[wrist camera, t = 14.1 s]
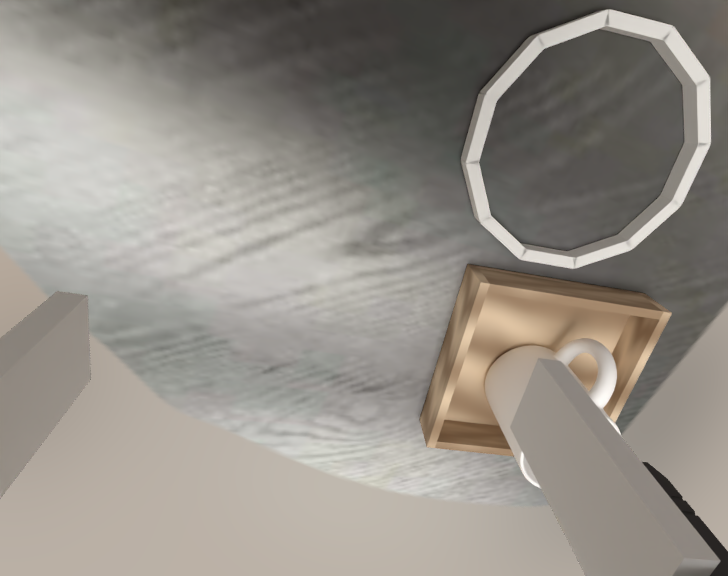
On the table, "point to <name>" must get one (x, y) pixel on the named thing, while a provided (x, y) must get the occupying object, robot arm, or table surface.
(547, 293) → the oak bin
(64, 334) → the robot arm
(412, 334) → the table surface
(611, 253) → the socket ring
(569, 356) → the mug
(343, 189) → the table surface
